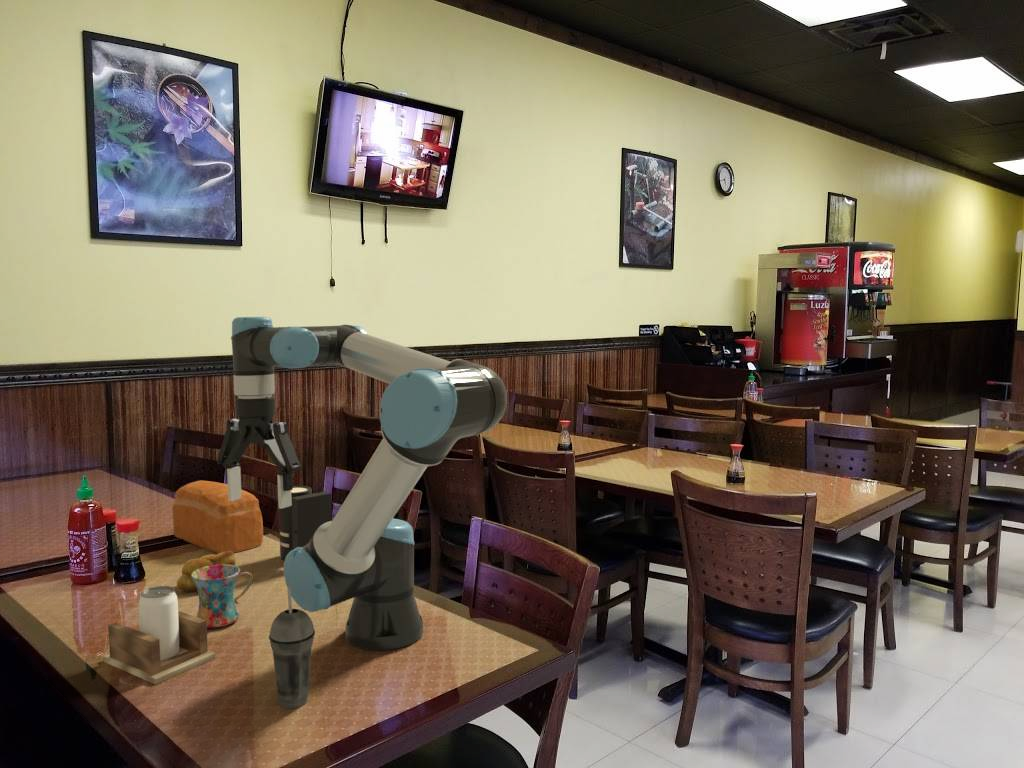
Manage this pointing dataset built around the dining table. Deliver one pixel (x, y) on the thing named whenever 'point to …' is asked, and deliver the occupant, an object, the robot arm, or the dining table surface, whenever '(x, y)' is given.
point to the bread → (217, 517)
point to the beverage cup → (292, 654)
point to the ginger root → (191, 565)
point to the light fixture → (302, 518)
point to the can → (160, 618)
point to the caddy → (158, 650)
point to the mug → (218, 593)
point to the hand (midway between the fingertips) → (259, 503)
